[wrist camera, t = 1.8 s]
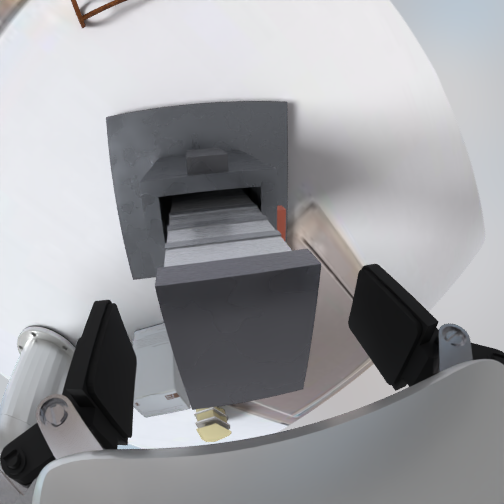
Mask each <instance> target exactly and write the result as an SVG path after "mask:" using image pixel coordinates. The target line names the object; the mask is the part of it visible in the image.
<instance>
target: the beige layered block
mask: <svg viewBox="0 0 504 504" xmlns="http://www.w3.org/2000/svg"><path fill="white" fill-rule="evenodd" d="M194 415H195V417H196V419H197V422H195V423H196V425H197V427H198V429H196V430H197V432H198V433H199V435H200V437H201V439H202V440H204V441H205V442H215V441H218V440H220V439H222V438H225V437H227V436H229V435H230V434H231V431H230V430H229V429H230V425H229V424H228V423H227V420H228V416H227V415H225V410H224V409H220V408H218V407H210V408H202V409H196V413H194Z"/></svg>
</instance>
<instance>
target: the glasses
mask: <svg viewBox="0 0 504 504" xmlns="http://www.w3.org/2000/svg"><path fill="white" fill-rule="evenodd" d="M124 1H127V0H114V1H112V2H110V3H108V4H105V5H103V6H101V7H99V8H97V9H95V10H93V11H91V12H89V13H87V14H85V15H83V16H82V15H81V12H80V10H79V7H78V5H77V2H76V0H71V2H72V4H73V7H74V10H75V12H76V15H77V17H78V20H79V22H80V24H81V27H82V28H84V27H85V23H84V20H86V19H88V18H90V17H92V16H94V15H96V14H98V13H100V12H102V11H104V10H106V9H108V8H110V7H113V6H115V5H117V4H119V3H122V2H124Z"/></svg>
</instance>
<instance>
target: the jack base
mask: <svg viewBox="0 0 504 504" xmlns="http://www.w3.org/2000/svg"><path fill="white" fill-rule="evenodd" d="M106 123H107V135H108V146H109V155H110V164H111V171H112V179H113V185H114V192H115V198H116V204H117V210H118V215H119V220H120V225H121V230H122V235H123V240H124V244H125V249H126V253H127V257H128V262H129V266H130V270H131V273H132V277H133V280H135V279H143V278H151V277H156V275H157V268H161V267H164V261H165V249H164V248H165V243H167V236H168V233H167V226H169V221H170V219H169V213H171V208H172V201H173V195H178V194H186V193H194V192H204V191H213V190H223V189H234V188H241V189H242V190H243V191H244V193H245V194H246V195H247V196H248V197H249V198H250V200H251V201H252V202H253V203H254V204H256V205H257V206H258V209H259V210H260V212H261V213H262V214H263V215H266V217H267V218H268V221H269V223H270V224H271V225H272V226H273V227H274V229H275V230H278V231H279V232H280V233H281V237H282V238H283V240H284V241H285V242H286V238H287V184H288V127H287V102H277V101H239V102H215V103H200V104H189V105H179V106H170V107H162V108H155V109H148V110H142V111H136V112H130V113H125V114H119V115H114V116H110V117H106Z"/></svg>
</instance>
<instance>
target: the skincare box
mask: <svg viewBox="0 0 504 504" xmlns="http://www.w3.org/2000/svg"><path fill="white" fill-rule="evenodd" d="M133 349H134V352H135V354H136V358H137V368H136V378H135V390H134V404H133V407H134V408H135V409H136V410H138V411H139V412H140V413H141V414H142V415H143V416H144V417H151V416H157V415H162V414H168V413H173V412H177V411H182V410H187V409H190V402H189V399H188V396H187V393H186V391H185V388H184V385H183V382H182V379H181V376H180V373H179V370H178V367H177V364H176V361H175V357H174V354H173V351H172V348H171V344H170V341H169V337H168V334H167V331H166V327H165V323H163V324H159V325H156V326H152V327H149V328H145V329H141V330H138V331H135V332H134V340H133Z"/></svg>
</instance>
